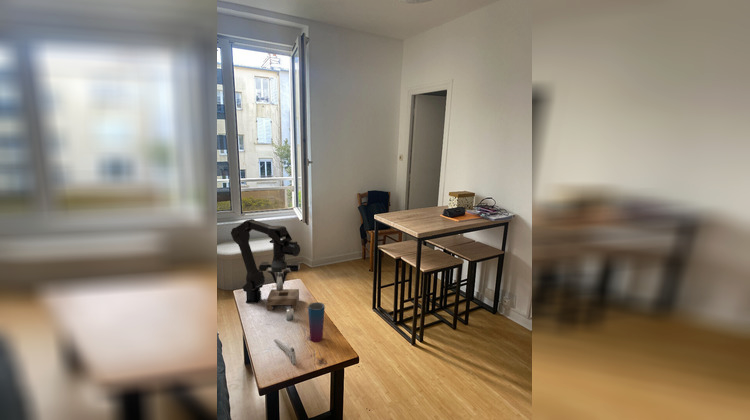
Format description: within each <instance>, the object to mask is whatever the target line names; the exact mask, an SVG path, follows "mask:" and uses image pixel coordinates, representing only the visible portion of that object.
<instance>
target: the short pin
mask: <svg viewBox="0 0 750 420" xmlns="http://www.w3.org/2000/svg"><path fill="white" fill-rule="evenodd" d="M285 312H286V321H287V322H293V321H294V317H295V316H294V315H295V314H294V313H295V311H294V309H293V308H292V307H288V308H286V311H285Z"/></svg>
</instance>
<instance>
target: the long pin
mask: <svg viewBox="0 0 750 420" xmlns="http://www.w3.org/2000/svg"><path fill="white" fill-rule="evenodd" d="M283 272H284V271H282V272H281V273H279V272H276V284H275V285H276V286H275V288H276V291H278V292H280V291H283V289H284V284H283Z"/></svg>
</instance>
